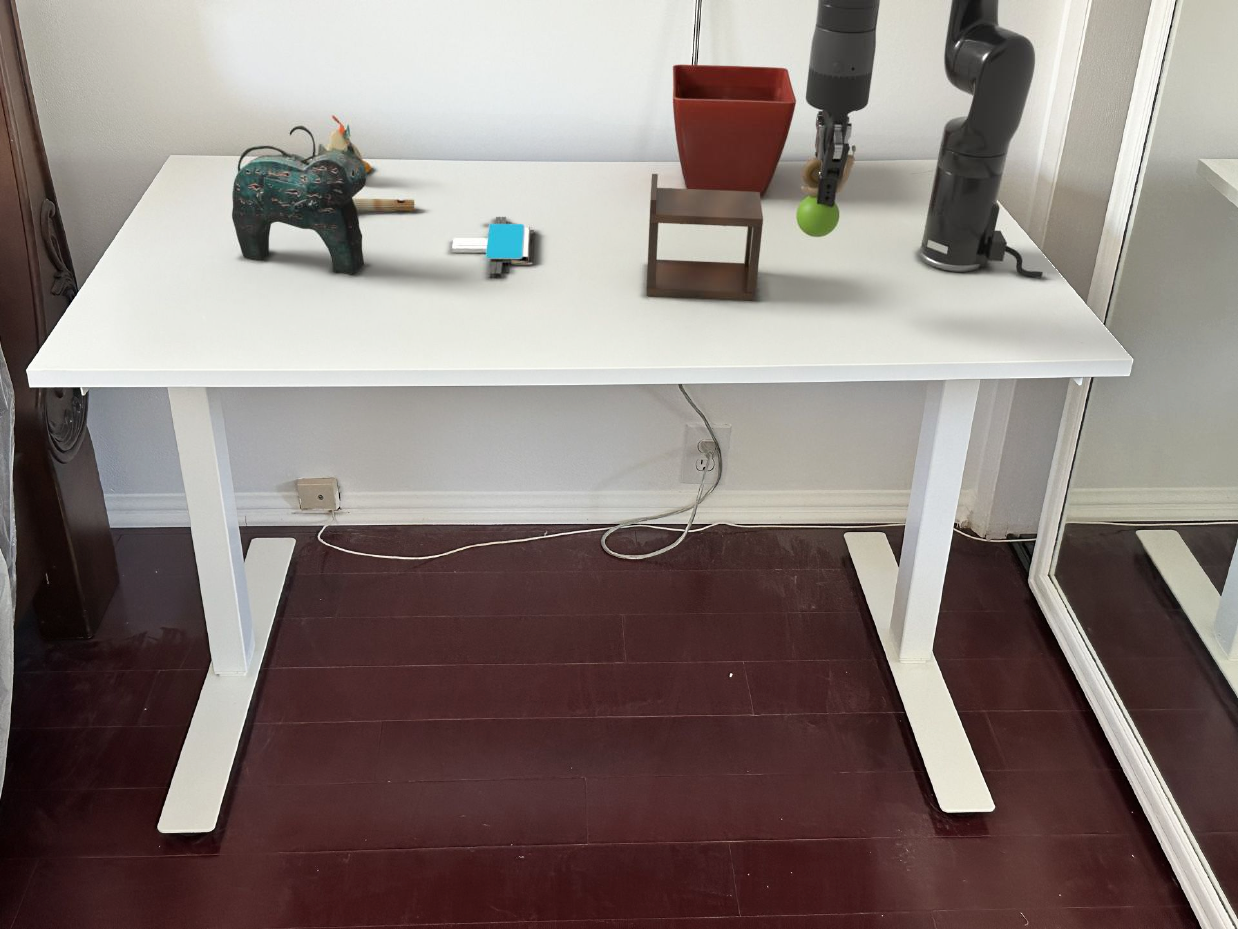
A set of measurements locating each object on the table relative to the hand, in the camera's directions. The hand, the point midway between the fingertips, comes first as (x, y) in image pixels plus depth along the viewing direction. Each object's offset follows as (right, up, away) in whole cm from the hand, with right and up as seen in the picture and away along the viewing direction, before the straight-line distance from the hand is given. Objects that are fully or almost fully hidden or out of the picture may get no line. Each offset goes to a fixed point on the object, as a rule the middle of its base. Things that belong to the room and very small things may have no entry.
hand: (824, 201), depth 149 cm
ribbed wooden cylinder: (-68, +6, +34) cm, 76 cm away
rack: (-15, -8, +16) cm, 23 cm away
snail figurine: (0, -4, +3) cm, 5 cm away
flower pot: (-8, +14, +48) cm, 51 cm away
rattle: (-70, +14, +45) cm, 84 cm away
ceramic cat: (-71, -5, +18) cm, 74 cm away
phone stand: (-45, -2, +24) cm, 51 cm away
